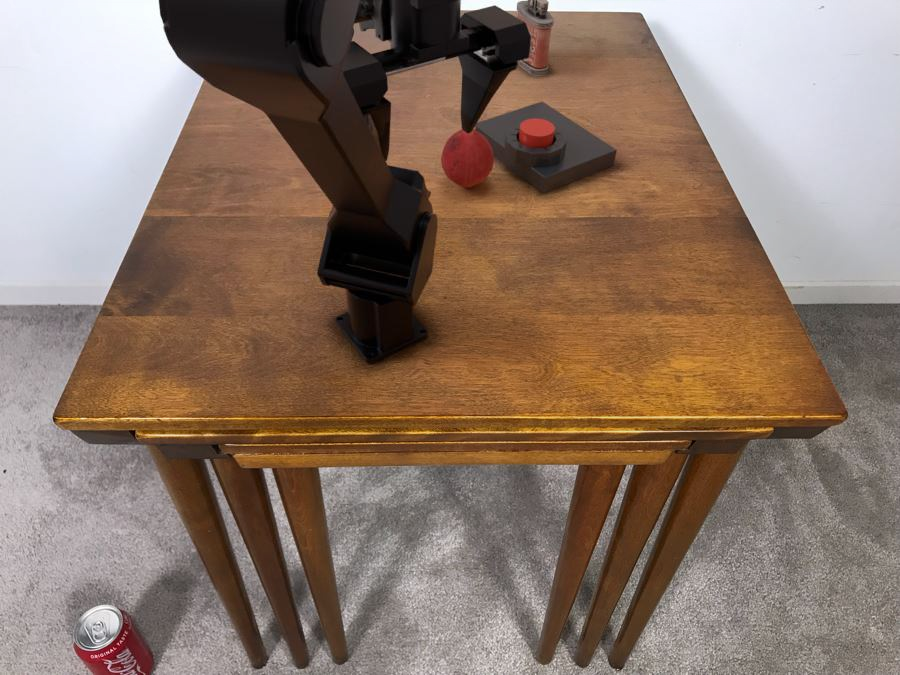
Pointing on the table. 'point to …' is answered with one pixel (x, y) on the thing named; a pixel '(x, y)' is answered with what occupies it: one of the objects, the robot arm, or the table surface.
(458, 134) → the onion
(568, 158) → the console
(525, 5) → the lighter
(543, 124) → the button
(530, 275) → the table surface
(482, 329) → the table surface
